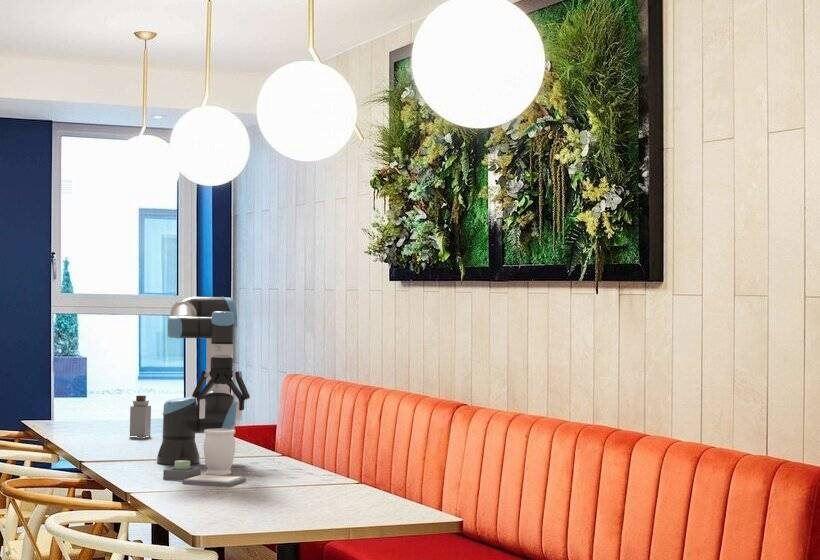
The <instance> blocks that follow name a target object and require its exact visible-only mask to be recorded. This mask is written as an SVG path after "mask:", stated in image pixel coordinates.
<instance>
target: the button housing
mask: <svg viewBox="0 0 820 560" xmlns="http://www.w3.org/2000/svg"><path fill="white" fill-rule="evenodd" d="M198 475H202V468H201V467H193V466H190V470H187V471H185V470H175V466H173V467H170V468H165V469H163V475H162V477H163V478H162V479H163V480H173V481H174V480H175V481H183V480H185V479H188V478H192V477H195V476H198Z"/></svg>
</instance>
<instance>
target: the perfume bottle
mask: <svg viewBox="0 0 820 560" xmlns="http://www.w3.org/2000/svg"><path fill="white" fill-rule="evenodd" d="M146 398H147V395H141V394H140V395H139V394H138V395H136V396H135V399H136V400H132V406H130V409H129V410H130V411H129V412H130V413H129V437H130V436H137V437H146V436H150V437H151V426H152V425H151V423H152V421H151V420H152V419H151V418H152V406H151V405H149V402H150V400H147V399H146Z"/></svg>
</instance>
